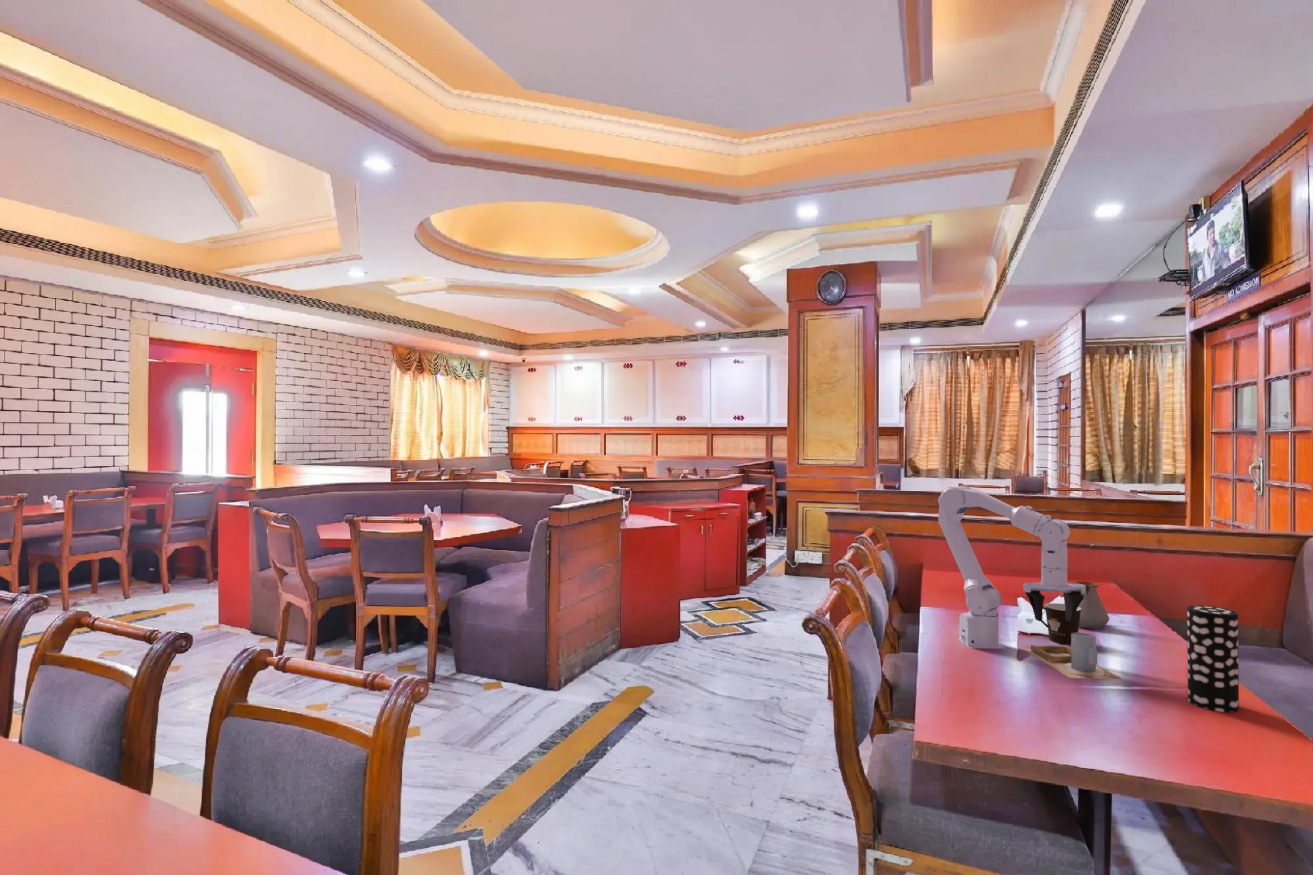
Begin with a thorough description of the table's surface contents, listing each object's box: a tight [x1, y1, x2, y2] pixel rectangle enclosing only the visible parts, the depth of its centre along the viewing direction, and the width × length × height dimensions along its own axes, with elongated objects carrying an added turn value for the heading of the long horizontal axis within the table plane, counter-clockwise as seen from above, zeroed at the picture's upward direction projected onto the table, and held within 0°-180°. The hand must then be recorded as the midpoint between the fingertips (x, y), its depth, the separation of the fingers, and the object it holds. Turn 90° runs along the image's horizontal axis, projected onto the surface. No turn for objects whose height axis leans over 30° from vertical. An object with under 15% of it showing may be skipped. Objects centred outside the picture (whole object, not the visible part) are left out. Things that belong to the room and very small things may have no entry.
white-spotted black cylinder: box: [1186, 604, 1240, 713], centre depth 142 cm, size 8×8×20 cm
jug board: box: [1022, 644, 1123, 680], centre depth 167 cm, size 12×22×2 cm, turn 178°
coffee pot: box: [1072, 580, 1110, 630], centre depth 199 cm, size 21×12×15 cm, turn 148°
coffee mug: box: [1040, 602, 1081, 646], centre depth 187 cm, size 12×9×10 cm
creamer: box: [1070, 632, 1098, 673], centre depth 160 cm, size 7×5×8 cm
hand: (1053, 620), depth 171 cm, fingers open, 7 cm apart
